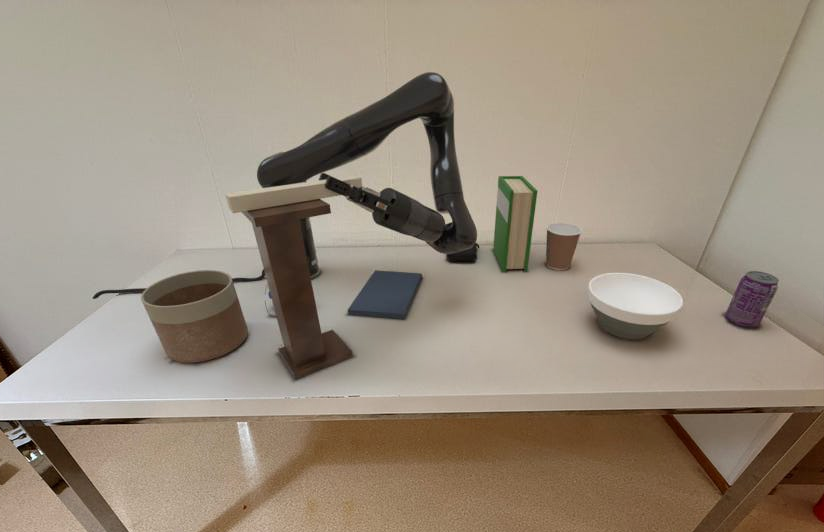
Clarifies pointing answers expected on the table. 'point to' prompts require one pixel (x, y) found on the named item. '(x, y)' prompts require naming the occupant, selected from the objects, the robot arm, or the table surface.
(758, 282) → the beverage can
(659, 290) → the bowl
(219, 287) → the planter
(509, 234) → the hardback book
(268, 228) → the pedestal
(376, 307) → the notebook
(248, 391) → the table surface
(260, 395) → the table surface
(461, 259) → the carrying case
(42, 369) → the table surface
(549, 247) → the coffee cup
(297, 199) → the rod
